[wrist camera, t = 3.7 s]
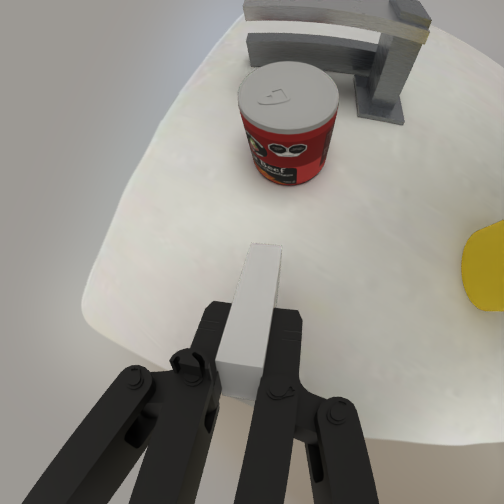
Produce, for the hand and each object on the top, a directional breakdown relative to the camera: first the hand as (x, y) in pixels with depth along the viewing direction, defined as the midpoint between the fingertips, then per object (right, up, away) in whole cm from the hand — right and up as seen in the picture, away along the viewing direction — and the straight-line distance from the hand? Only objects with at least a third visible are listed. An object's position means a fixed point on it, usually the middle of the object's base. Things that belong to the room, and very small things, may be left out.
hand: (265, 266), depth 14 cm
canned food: (+3, +11, +15) cm, 19 cm away
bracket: (+9, +22, +16) cm, 29 cm away
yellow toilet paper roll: (+28, -1, +10) cm, 30 cm away
